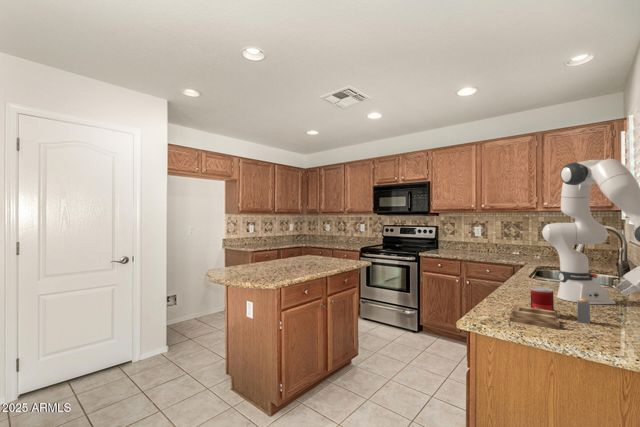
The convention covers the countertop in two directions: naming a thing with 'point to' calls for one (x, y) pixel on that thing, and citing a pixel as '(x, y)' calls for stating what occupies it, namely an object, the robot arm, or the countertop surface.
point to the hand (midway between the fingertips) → (619, 291)
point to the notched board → (556, 326)
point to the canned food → (542, 298)
